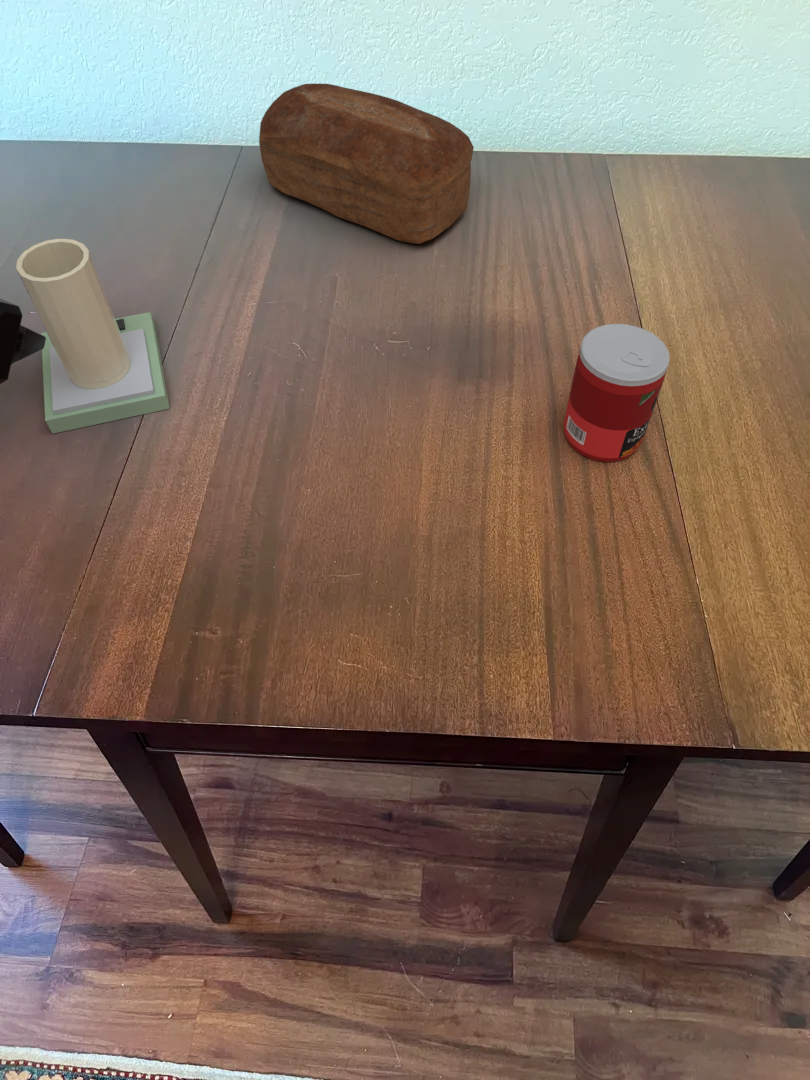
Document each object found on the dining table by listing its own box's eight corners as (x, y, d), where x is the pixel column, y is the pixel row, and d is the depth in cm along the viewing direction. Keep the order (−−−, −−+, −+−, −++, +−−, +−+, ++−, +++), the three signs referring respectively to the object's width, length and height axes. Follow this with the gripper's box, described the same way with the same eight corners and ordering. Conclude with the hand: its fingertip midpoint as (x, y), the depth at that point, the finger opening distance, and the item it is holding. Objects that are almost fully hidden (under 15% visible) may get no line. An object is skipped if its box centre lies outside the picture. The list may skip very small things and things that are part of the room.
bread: (424, 264, 96) (425, 167, 86) (252, 193, 105) (235, 98, 95) (484, 211, 102) (491, 115, 92) (317, 148, 112) (307, 55, 102)
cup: (131, 383, 80) (88, 274, 70) (67, 393, 79) (14, 285, 69) (130, 343, 84) (88, 234, 73) (68, 352, 83) (18, 244, 72)
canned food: (634, 473, 76) (663, 389, 67) (553, 452, 77) (571, 368, 68) (648, 419, 80) (677, 333, 71) (571, 400, 82) (590, 315, 73)
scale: (170, 409, 82) (163, 390, 79) (52, 434, 80) (42, 416, 78) (155, 325, 89) (149, 307, 87) (47, 347, 88) (38, 328, 85)
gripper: (-61, 208, 50) (108, 265, 65) (-246, 140, 56) (-51, 207, 70) (-95, 375, 53) (76, 394, 67) (-269, 294, 58) (-76, 328, 73)
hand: (4, 326), depth 69 cm, fingers open, 9 cm apart
